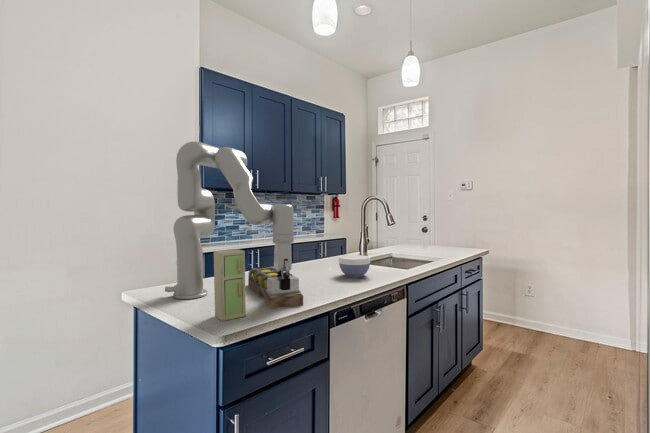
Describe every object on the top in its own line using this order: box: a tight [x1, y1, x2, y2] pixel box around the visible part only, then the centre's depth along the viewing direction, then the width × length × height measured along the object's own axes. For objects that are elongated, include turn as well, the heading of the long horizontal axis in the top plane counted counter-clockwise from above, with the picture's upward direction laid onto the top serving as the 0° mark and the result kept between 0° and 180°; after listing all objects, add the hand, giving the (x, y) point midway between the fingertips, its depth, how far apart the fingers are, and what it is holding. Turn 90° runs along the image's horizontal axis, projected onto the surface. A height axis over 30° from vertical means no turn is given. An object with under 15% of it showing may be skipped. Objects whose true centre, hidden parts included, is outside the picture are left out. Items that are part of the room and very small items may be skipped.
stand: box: [264, 292, 304, 309], centre depth 126 cm, size 12×10×4 cm
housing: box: [266, 275, 302, 296], centre depth 126 cm, size 11×7×5 cm, turn 115°
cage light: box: [247, 266, 294, 299], centre depth 146 cm, size 15×8×30 cm
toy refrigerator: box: [213, 248, 247, 322], centre depth 110 cm, size 8×7×21 cm
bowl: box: [338, 254, 371, 279], centre depth 174 cm, size 16×16×10 cm
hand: (283, 287), depth 126 cm, fingers open, 7 cm apart
